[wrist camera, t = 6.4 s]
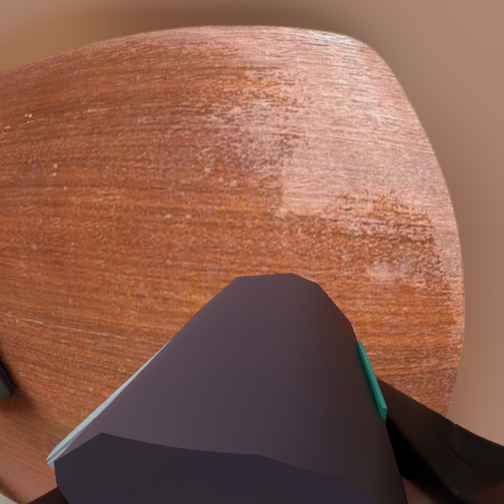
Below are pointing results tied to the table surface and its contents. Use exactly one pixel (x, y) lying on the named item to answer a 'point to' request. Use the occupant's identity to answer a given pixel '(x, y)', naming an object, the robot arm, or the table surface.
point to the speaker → (244, 411)
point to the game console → (5, 385)
